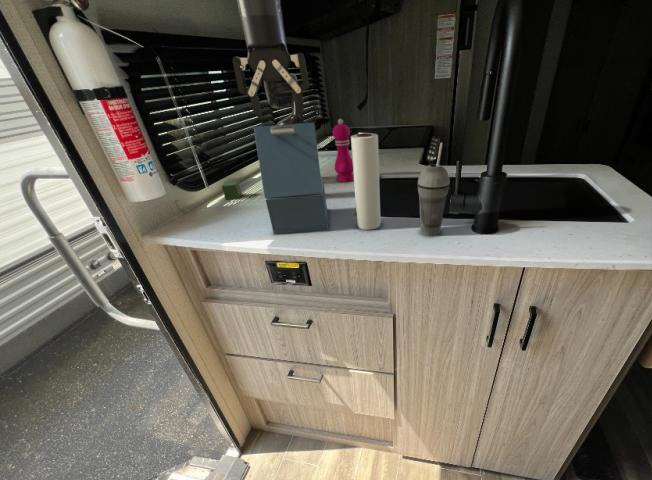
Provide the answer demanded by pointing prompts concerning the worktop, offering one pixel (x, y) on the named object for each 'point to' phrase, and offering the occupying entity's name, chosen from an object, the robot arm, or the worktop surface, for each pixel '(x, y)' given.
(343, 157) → the pepper mill
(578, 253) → the worktop surface
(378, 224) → the paper towel roll
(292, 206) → the freezer
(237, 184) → the green cube
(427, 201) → the beverage cup
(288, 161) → the freezer lid
